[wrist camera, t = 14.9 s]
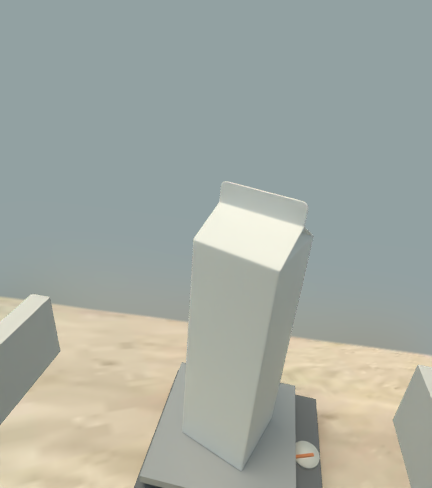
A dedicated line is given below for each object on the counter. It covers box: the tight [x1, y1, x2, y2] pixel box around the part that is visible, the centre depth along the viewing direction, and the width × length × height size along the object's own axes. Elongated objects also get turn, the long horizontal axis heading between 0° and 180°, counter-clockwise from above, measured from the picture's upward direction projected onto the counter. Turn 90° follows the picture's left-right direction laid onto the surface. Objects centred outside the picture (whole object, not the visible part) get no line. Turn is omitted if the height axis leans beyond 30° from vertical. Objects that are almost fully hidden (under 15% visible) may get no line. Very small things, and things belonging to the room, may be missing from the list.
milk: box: [182, 181, 313, 471], centre depth 27 cm, size 6×6×22 cm
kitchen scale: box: [134, 362, 322, 488], centre depth 33 cm, size 15×13×4 cm
